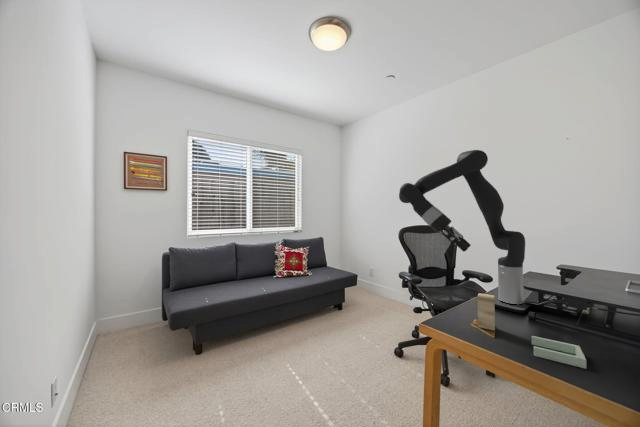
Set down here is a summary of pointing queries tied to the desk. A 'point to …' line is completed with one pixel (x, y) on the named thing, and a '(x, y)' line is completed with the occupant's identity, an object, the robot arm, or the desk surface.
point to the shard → (483, 329)
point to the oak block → (486, 311)
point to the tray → (558, 356)
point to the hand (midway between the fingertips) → (467, 248)
